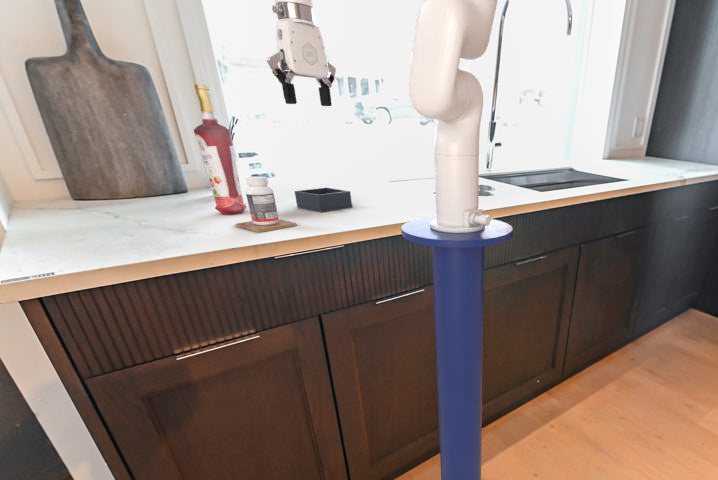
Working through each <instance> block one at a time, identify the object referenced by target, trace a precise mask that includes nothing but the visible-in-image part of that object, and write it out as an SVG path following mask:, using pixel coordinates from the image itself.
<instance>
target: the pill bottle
mask: <svg viewBox="0 0 718 480" xmlns="http://www.w3.org/2000/svg"><path fill="white" fill-rule="evenodd" d="M245 180H246V184H247V185H248V188H246V189H245V195H246V199H247V203H248V208H249V212H250V217H251V221H253V224H256V225H272V224H277V223H278V222H279V219H280V217H279V213H278V207H277V204H276V203H277V202H276V198H275V193H274V190H273V188H271V187H269V186H268V185H269V180H268V177H267V176H258V175H255V176H247V177H245Z"/></svg>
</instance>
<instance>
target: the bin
mask: <svg viewBox="0 0 718 480" xmlns="http://www.w3.org/2000/svg"><path fill="white" fill-rule="evenodd" d="M294 196H295V202H296V208H299V209H304V210H307V211H308V210H309V211H313V212H318V213H324V212H325V213H326V212H329V211H336V210H337V211H338V210H343V209H349V208H353V203H352V196H351V191H350V190H345V189H340V188H332V187H331V188H330V187H320V188H319V187H318V188H310V189H301V190H300V189H299V190H294Z"/></svg>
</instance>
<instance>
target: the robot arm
mask: <svg viewBox="0 0 718 480" xmlns="http://www.w3.org/2000/svg"><path fill="white" fill-rule="evenodd" d="M274 2H275V5H272V7H271V9H272V12H273V13H274V14H276V15H277V16H276V17H277V21H276V23H275V25H276V26H275V32H276V33H275V36H276V50H277V52H276V53H274V54H273V55H271V56H269V57H268V58H266V62H267V64H268V66H269V68H270V70H272V74H273V76H275V78H277V80H278V83H279V84H281V88H282V93H283V98H284V101H285V104H286V105H296V104H297V103H298V101H297V95H296V88H295V85H294V83H292V81H293V79H294V78H295V77H302V78H311V79H312V78H313V79H315V80H316V82H317V83H318V85H319V87H318V94H319V101H320V105H321V106H322V107H332V97H331V89H330V88H332V86H333V85H332V84H333V83H334V81H335V76H336V72H337V68H336V67H335V66H333V65H332V64H331V63H330V62H329V61H328V57H327V53H326V48H325V43H324V39H323V37H322V33H321V30H320V28H319V27H318V26H316V19H315V13H314V12H315V11H314V5H313V4H314V3H313V0H274ZM497 5H498V0H422V3H421V5H420V7H419V9H418V12H417V15H416V20H415V27H414V33H413V41H412V49H411V57H410V64H409V71H408V80H407V81H408V83H407V84H408V85H407V87H408V96H409V100H410V102H411V105H412V107H413V109H414V110H415V111H416V113H417V114H419V115H421V116H422V117H423V118H426V119H428V120H433V121H437V122H436V127H435V132H434V141H433V150H434V153H433V154H434V155H433V157H434V181H435V182H434V183H435V209H436V211H435V213H436V217H437V219H434V220H432V221H431V222H430V227H431V228H432V229H433V230H436V231H440V232H448V233H470V232H476V231H480V230H483V229H484V228H485V225H486V226H488V225H489V224H490V221H491V219H492V216H491V215H488V214H483V208H482V207H479V179H480V178H479V177H480V176H479V175H480V174H479V172H480V170H479V169H480V131H481V121H482V114H483V107H484V92H483V88H482V85H481V83H480V80H479V78H477V76H476V75H475V74H474V73H473V72H471V71H470V70H468V69H466V68H464V67H461V66H460V62H461V60H464V61H476V60H479V59H481V57H482V56H484V54H485V53H486V51H487V49H488V46H489V43H490V38H491V36H492V35H491V34H492V28H493V26H494V25H493V24H494V20H495V16H496V10H497Z"/></svg>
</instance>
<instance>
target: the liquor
mask: <svg viewBox="0 0 718 480" xmlns="http://www.w3.org/2000/svg"><path fill="white" fill-rule="evenodd" d="M193 85H194V90H195V94H196V96H197V98H198V101H199V106H200V113H201V119H202V123H201V124H199V125H197V126H196V127H195V128H194V129H193V133H194V137H195V139H196V140H195V141H196V143H197V146H198V149H199V153H200V155H201V159H202V162H203V165H204V168H205V171H206V173H207V174H206V175H207V178H208V181H209V185H210V188H211V192H212V195H213V198H214V202H215V206H214V207H215V208H214V209H215V210H216V211H218V212H219V213H220V214H222V215H238V214H242V213H243V212H244V211H245V209H246V208H247V207H248V206H247V205H246V204H245V203H244V197H243V193H242V189H241V183H240V177H239V172H238V167H237V166H238V165H237V161H236V154H235V153H236V152H235V149H234V143H233V138H232V132H231V130H230V129H229V128H228V127H226V126H224V125H222V124H219V122H218V119H217V115H216V113H215V110H214V107H213V103H212V98H211V97H212V96H211V92H210V91H211V90H210V87H209V85H207V84H193Z"/></svg>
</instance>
